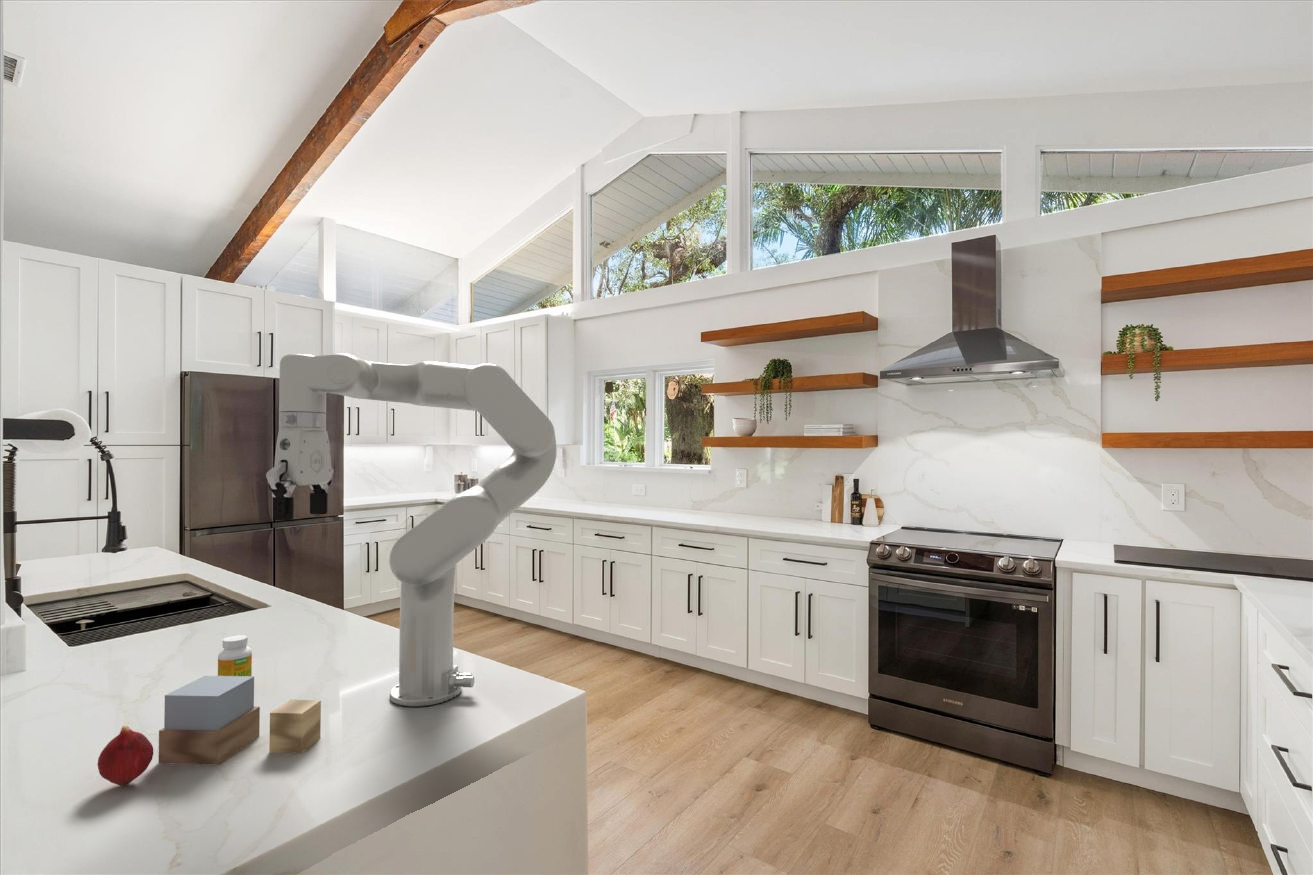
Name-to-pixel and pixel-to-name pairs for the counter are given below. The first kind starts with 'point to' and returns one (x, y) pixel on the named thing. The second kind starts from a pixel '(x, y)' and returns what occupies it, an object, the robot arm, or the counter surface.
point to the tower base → (209, 741)
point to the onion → (125, 757)
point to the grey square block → (209, 703)
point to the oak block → (295, 726)
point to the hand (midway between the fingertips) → (301, 516)
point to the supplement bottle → (235, 657)
